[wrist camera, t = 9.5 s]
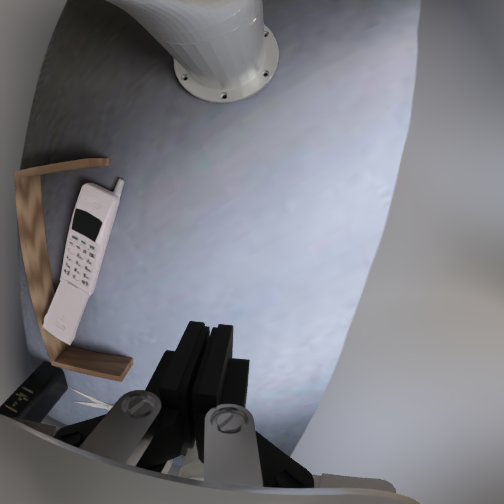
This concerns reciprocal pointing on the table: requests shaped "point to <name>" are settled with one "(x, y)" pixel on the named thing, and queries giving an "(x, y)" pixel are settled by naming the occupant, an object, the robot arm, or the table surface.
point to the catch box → (42, 278)
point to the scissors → (97, 404)
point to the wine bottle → (36, 394)
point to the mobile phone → (82, 258)
